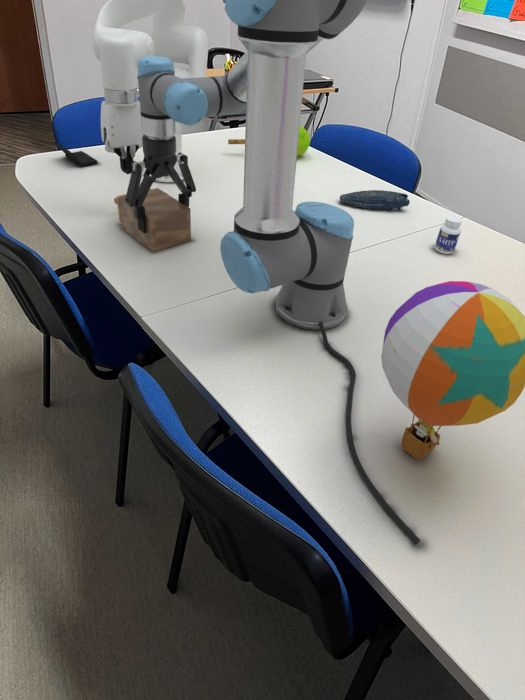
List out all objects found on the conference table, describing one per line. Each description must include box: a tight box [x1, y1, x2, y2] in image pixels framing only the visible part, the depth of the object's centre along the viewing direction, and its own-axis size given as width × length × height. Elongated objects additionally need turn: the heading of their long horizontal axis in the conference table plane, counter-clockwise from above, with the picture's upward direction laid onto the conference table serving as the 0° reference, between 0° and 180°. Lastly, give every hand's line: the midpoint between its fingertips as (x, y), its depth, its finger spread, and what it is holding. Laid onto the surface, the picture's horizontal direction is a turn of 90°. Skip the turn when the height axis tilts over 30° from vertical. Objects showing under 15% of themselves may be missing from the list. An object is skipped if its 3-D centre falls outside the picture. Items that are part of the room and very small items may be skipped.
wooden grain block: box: [118, 187, 192, 253], centre depth 132 cm, size 15×11×9 cm
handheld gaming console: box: [53, 140, 98, 167], centre depth 169 cm, size 12×7×10 cm
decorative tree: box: [227, 125, 311, 157], centre depth 186 cm, size 18×10×30 cm
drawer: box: [113, 188, 152, 223], centre depth 136 cm, size 19×10×7 cm, turn 41°
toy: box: [380, 280, 525, 461], centre depth 74 cm, size 20×20×30 cm
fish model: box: [339, 189, 411, 211], centre depth 158 cm, size 7×21×5 cm, turn 84°
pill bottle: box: [434, 215, 463, 255], centre depth 137 cm, size 5×5×9 cm
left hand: (127, 172), depth 134 cm, fingers closed
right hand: (163, 225), depth 130 cm, fingers closed on wooden grain block, 11 cm apart
